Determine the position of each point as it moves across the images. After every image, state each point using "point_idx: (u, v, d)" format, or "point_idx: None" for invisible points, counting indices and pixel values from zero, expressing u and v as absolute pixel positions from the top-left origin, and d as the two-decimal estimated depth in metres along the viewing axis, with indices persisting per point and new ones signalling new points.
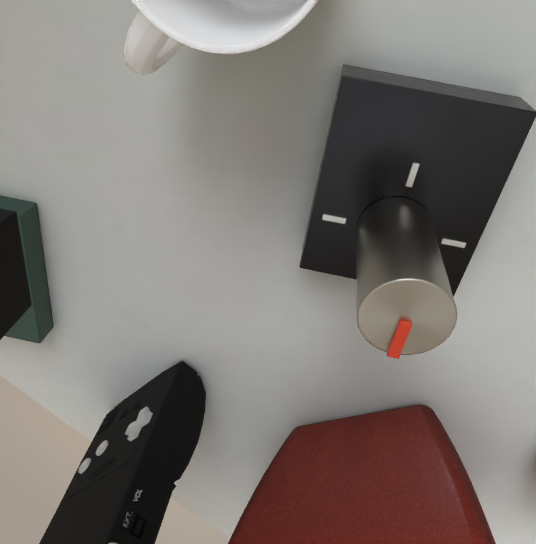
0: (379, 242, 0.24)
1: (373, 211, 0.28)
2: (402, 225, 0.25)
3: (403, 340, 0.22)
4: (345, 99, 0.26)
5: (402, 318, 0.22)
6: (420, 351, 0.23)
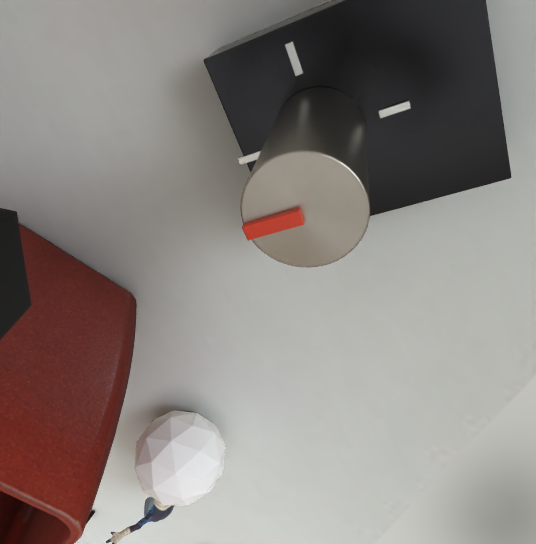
0: (339, 123, 0.18)
1: (337, 96, 0.21)
2: (361, 135, 0.20)
3: (277, 229, 0.17)
4: None
5: (301, 209, 0.16)
6: (270, 254, 0.18)
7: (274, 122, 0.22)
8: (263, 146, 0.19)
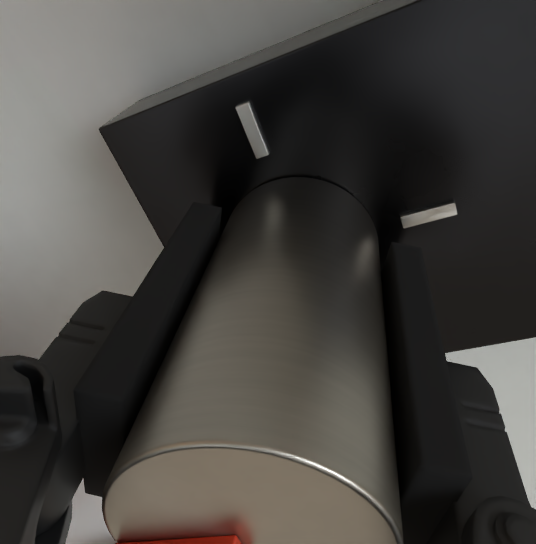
0: (331, 290, 0.09)
1: (328, 199, 0.12)
2: (375, 290, 0.10)
3: None
4: None
5: (241, 537, 0.07)
6: None
7: (218, 242, 0.12)
8: (178, 328, 0.09)
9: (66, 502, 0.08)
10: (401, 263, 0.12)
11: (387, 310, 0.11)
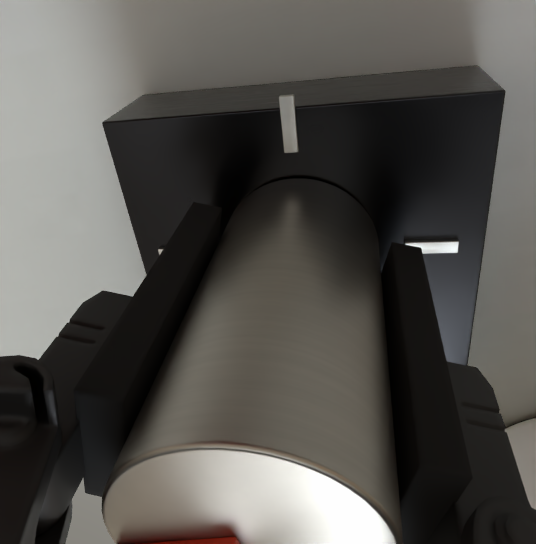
0: (330, 291, 0.09)
1: (328, 200, 0.12)
2: (375, 291, 0.10)
3: None
4: None
5: (240, 540, 0.07)
6: None
7: (218, 244, 0.12)
8: (178, 330, 0.09)
9: (66, 502, 0.08)
10: (401, 263, 0.12)
11: (387, 310, 0.11)
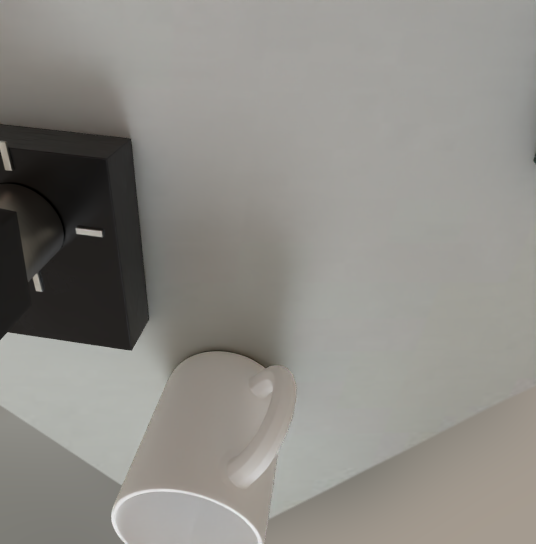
0: None
1: (19, 198, 0.23)
2: None
3: None
4: (122, 335, 0.29)
5: None
6: None
7: None
8: None
9: None
10: None
11: None
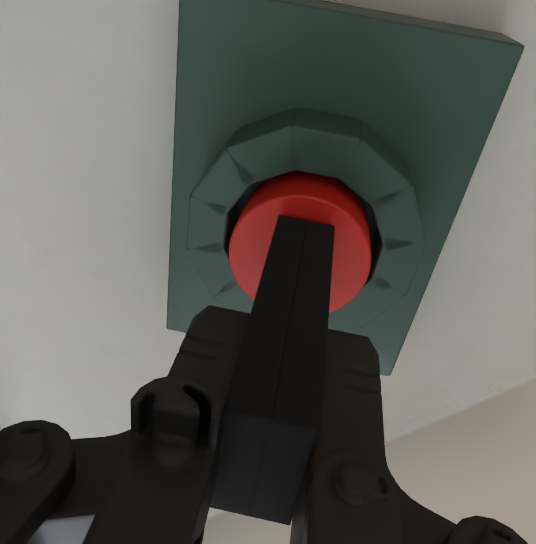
0: None
1: None
2: None
3: None
4: None
5: None
6: None
7: None
8: None
9: (205, 517, 0.08)
10: (310, 239, 0.12)
11: None
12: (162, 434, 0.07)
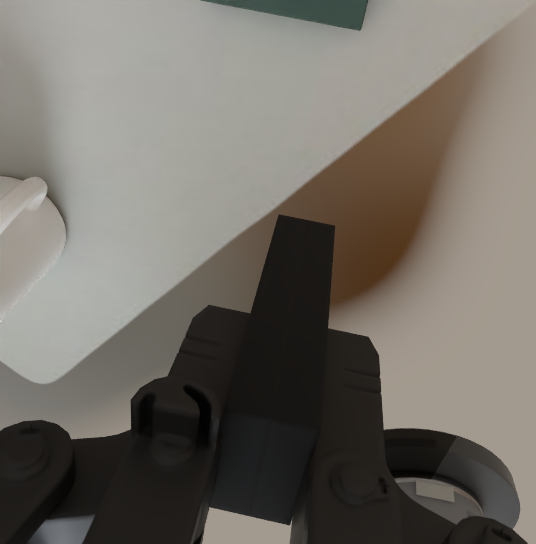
0: None
1: None
2: None
3: None
4: None
5: None
6: None
7: None
8: None
9: (206, 517, 0.08)
10: (310, 239, 0.12)
11: None
12: (162, 434, 0.07)
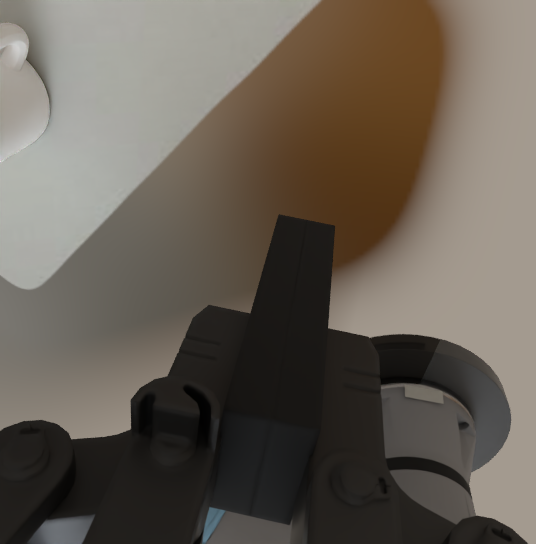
0: None
1: None
2: None
3: None
4: None
5: None
6: None
7: None
8: None
9: (206, 517, 0.08)
10: (310, 239, 0.12)
11: None
12: (163, 433, 0.07)
